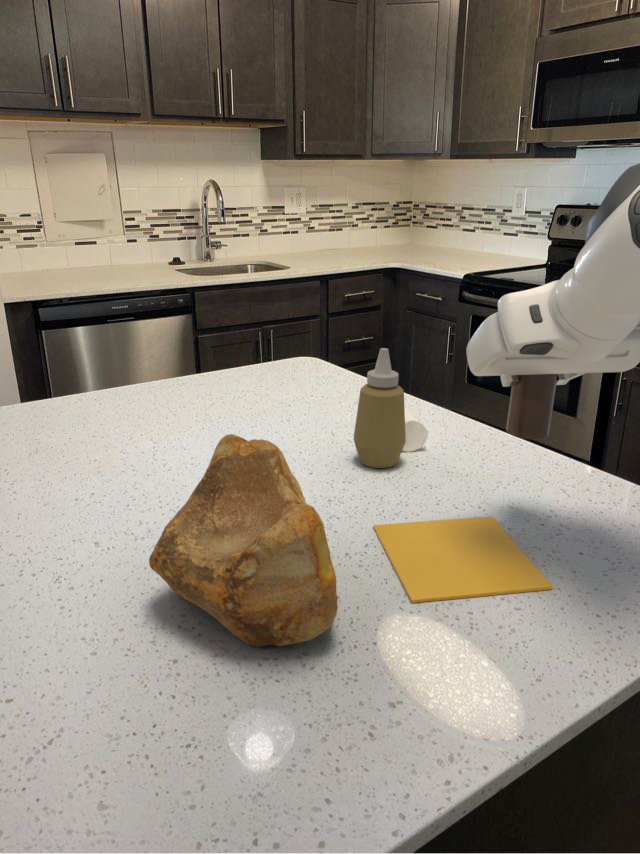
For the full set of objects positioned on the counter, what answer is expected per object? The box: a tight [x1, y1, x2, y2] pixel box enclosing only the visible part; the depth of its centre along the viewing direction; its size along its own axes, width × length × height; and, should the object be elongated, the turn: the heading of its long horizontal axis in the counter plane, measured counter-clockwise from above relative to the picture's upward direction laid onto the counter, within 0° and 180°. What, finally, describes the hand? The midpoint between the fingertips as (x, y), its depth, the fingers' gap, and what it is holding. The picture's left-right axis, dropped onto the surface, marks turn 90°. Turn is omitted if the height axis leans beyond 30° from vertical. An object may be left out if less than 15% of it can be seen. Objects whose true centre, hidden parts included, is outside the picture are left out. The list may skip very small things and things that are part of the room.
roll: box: [402, 405, 429, 453], centre depth 112 cm, size 6×12×6 cm, turn 10°
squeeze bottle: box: [353, 347, 406, 469], centre depth 100 cm, size 8×8×18 cm
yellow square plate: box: [372, 515, 553, 604], centre depth 78 cm, size 16×16×1 cm
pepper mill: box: [505, 374, 558, 440], centre depth 82 cm, size 5×5×14 cm
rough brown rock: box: [148, 433, 339, 648], centre depth 67 cm, size 23×17×15 cm
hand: (531, 380), depth 83 cm, fingers closed on pepper mill, 5 cm apart
